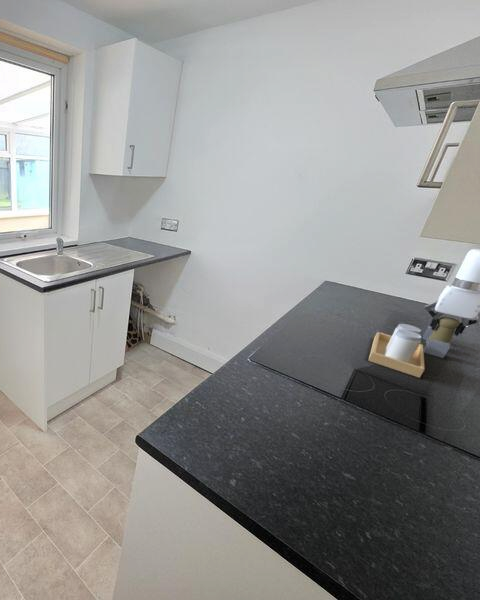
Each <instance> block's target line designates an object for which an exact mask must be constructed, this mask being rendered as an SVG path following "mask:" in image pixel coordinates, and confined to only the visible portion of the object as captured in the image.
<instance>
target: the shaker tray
mask: <svg viewBox="0 0 480 600" xmlns="http://www.w3.org/2000/svg"><path fill="white" fill-rule="evenodd" d="M391 337H392V335H390V334H387V333H383V332H379V331H376V334H375V336H374V338H373V341H372V345H371V347H370V352H369V356H368V360H367V361H368V362H371V363H373V364H377V365H379V366H383V367H386V368H389V369H391V370H395V371H398V372H400V373H404V374H407V375H410V376H413V377H416V378H421V377H422V375H423V373H424V372H425V370H426V369H425V353H424V351H423V349H424V344H422V343H419V345H418V347H417V349H416V350H415V352H414V354H413V356H412V358H411V359H410V361H409V363H406V362H403V361H400V360H397V359H393V358H390V357H387V356H384V355H385V353H384V350H385V348H386V346H387V344H388V343H389V341H390V339H391Z"/></svg>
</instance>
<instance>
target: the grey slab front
mask: <svg viewBox="0 0 480 600" xmlns="http://www.w3.org/2000/svg"><path fill="white" fill-rule="evenodd" d="M450 348H451V343H450V344H449V343H446V342H442V341H438V340H435V339H431V338H430V339H429V341H428V342H427V343H425V346H424V347H423V351H424V354H427V355H431V356H434V357H437V358H441V359H444V358H445V356H446V355H447V353H448V352H449V350H450Z"/></svg>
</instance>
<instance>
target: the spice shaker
mask: <svg viewBox="0 0 480 600" xmlns="http://www.w3.org/2000/svg"><path fill="white" fill-rule="evenodd" d="M398 330H408V331H411V332H414V333H417V334H419V335H420V336H421V332H422V329H421V328H419V327H417V326H414V325H411V324H407V323H398V325H397V326H396V327H395V328H394V331H393V332H392V335H391V336H392V337H391V339H390V341H389V343H388V344H387V346H386V348H385V350H384V353H386V351H387V349H388V347H389V345H390V343H391V341H392V339H393V337H394V335H395V333H397V331H398Z"/></svg>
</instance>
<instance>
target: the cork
mask: <svg viewBox="0 0 480 600" xmlns="http://www.w3.org/2000/svg"><path fill="white" fill-rule="evenodd" d="M460 323H461V322H460V321H459V320H458V319H456V318H454V317H449V316H441V317H439V322H438V324H437V326H436V329H435V330H434V331H433V333H432V334H431V335H430V336H429V338H428V339H427V340H425V344H427V342H428V341H429V339H430V338H431V339H435V340H438V341H442V342H446V343H449V344H450V345H451V342H452V339H453V336H454V332H455V330H456V328H458V327H459V325H460Z"/></svg>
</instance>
